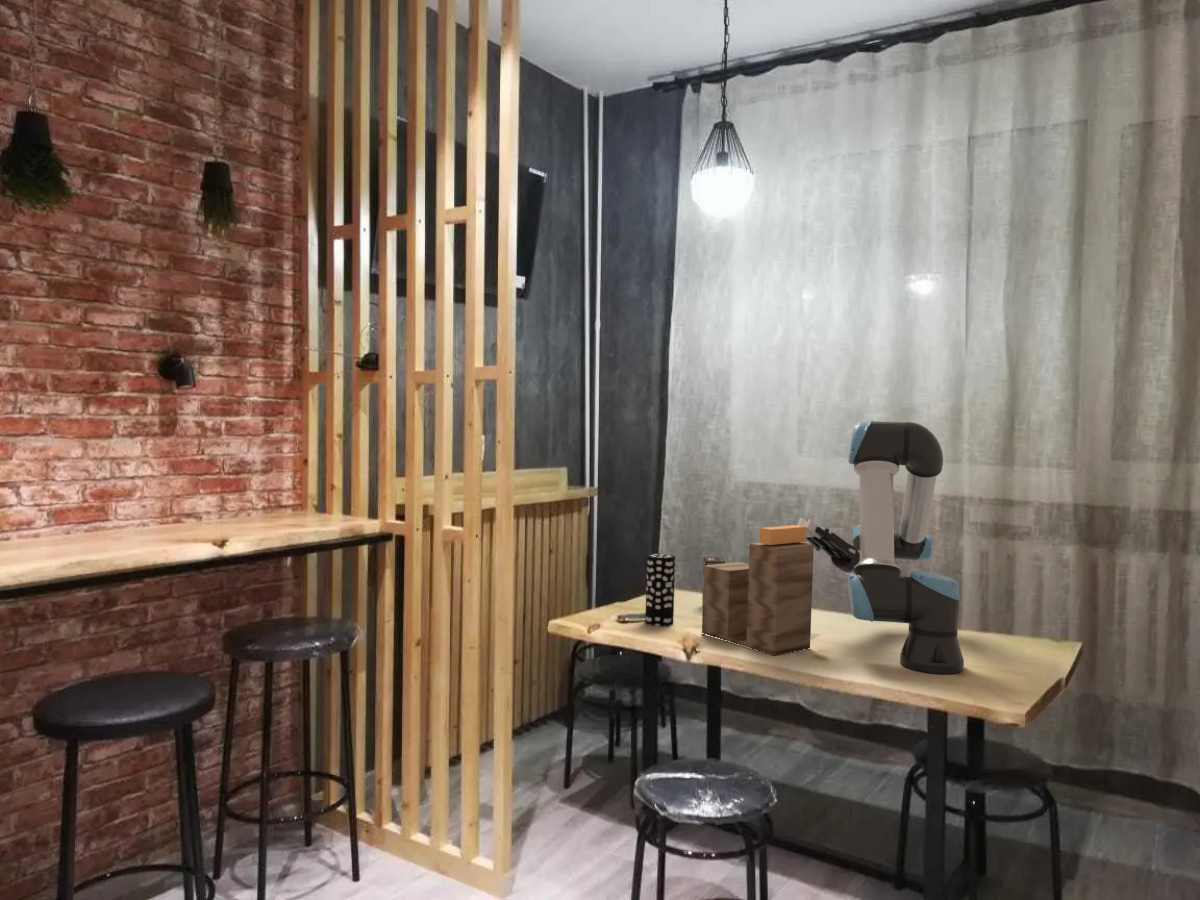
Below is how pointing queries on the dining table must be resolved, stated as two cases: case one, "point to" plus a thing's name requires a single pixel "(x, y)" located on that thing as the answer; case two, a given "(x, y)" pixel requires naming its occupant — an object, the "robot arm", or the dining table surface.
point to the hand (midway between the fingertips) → (803, 522)
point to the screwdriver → (784, 534)
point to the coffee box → (711, 562)
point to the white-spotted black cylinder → (660, 589)
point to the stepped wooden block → (762, 598)
